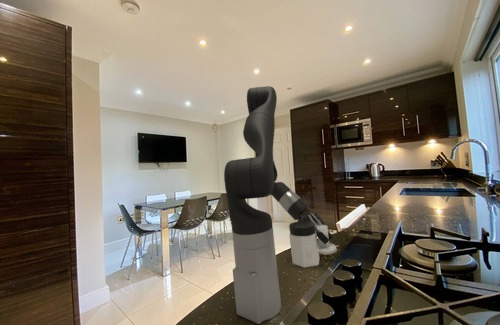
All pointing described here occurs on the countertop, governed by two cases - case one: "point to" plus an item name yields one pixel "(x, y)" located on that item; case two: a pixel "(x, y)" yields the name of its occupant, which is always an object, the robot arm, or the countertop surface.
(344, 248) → the countertop surface
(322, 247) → the lid
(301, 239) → the jar
